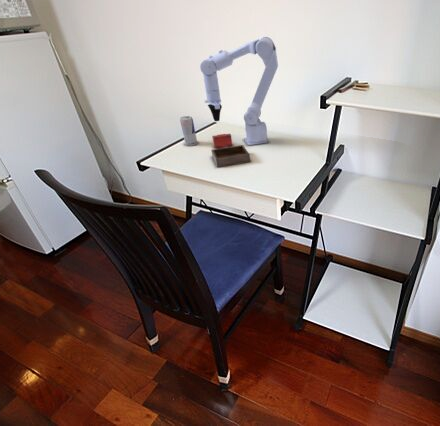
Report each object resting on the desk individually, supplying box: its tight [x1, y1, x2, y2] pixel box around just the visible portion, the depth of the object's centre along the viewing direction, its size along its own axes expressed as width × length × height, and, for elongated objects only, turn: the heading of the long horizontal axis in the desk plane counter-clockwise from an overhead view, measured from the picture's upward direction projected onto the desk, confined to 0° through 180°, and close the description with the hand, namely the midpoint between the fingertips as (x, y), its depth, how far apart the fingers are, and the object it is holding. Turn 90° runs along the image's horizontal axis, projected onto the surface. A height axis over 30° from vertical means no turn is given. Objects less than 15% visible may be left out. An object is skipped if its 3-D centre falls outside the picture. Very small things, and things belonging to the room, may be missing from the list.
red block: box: [211, 133, 233, 149], centre depth 138 cm, size 8×5×5 cm, turn 115°
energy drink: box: [179, 115, 198, 147], centre depth 137 cm, size 5×5×12 cm
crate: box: [211, 144, 251, 168], centre depth 127 cm, size 14×10×4 cm
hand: (216, 120), depth 140 cm, fingers closed
